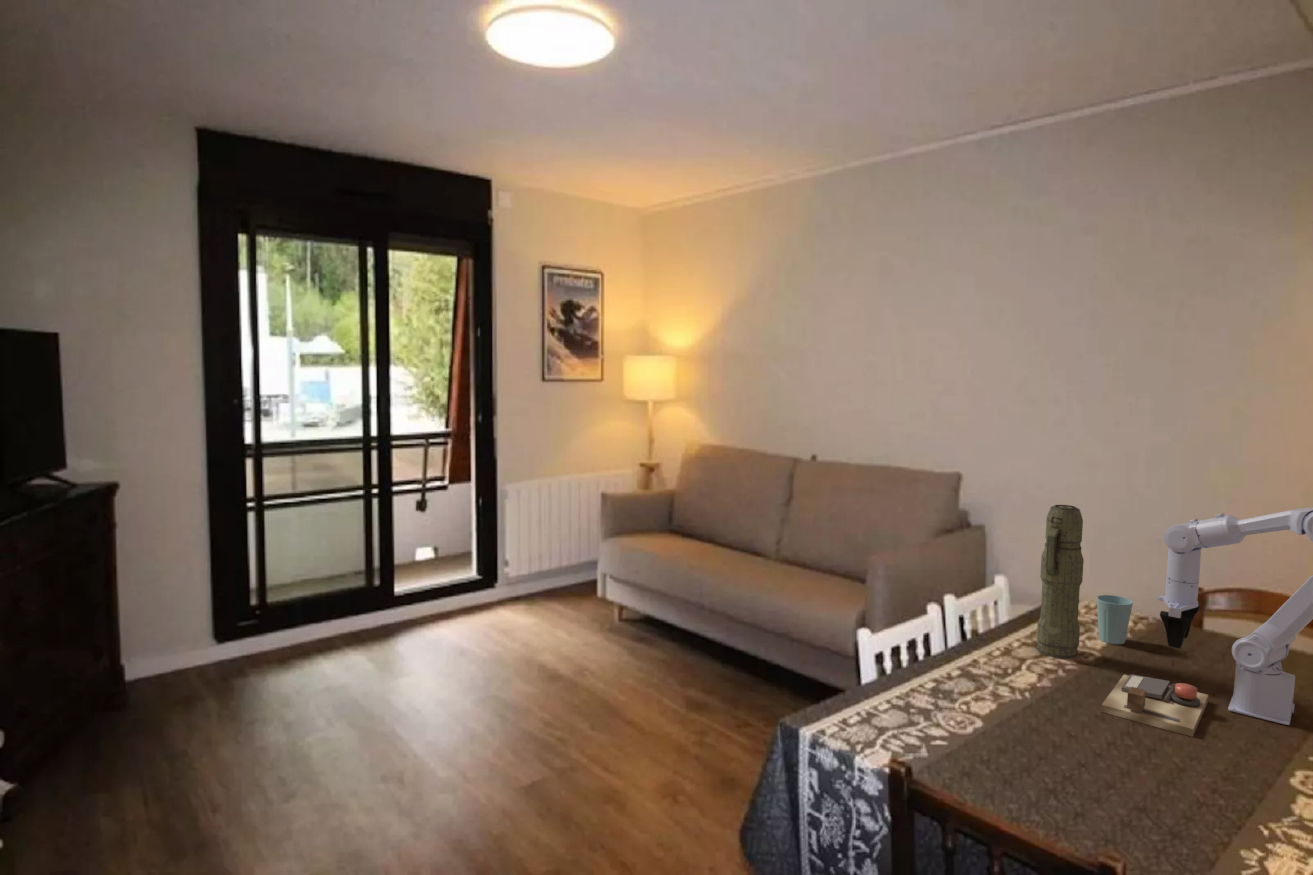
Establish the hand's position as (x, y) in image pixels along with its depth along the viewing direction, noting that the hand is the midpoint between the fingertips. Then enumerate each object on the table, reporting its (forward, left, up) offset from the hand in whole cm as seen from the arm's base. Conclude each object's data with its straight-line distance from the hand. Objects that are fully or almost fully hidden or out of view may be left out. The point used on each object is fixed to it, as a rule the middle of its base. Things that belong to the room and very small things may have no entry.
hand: (1177, 641), depth 165 cm
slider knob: (+3, +23, -8) cm, 25 cm away
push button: (-4, +12, -7) cm, 15 cm away
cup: (+16, -20, -10) cm, 27 cm away
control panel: (+1, +15, -9) cm, 18 cm away
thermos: (+24, -3, -10) cm, 26 cm away
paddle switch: (+3, +11, -8) cm, 14 cm away
